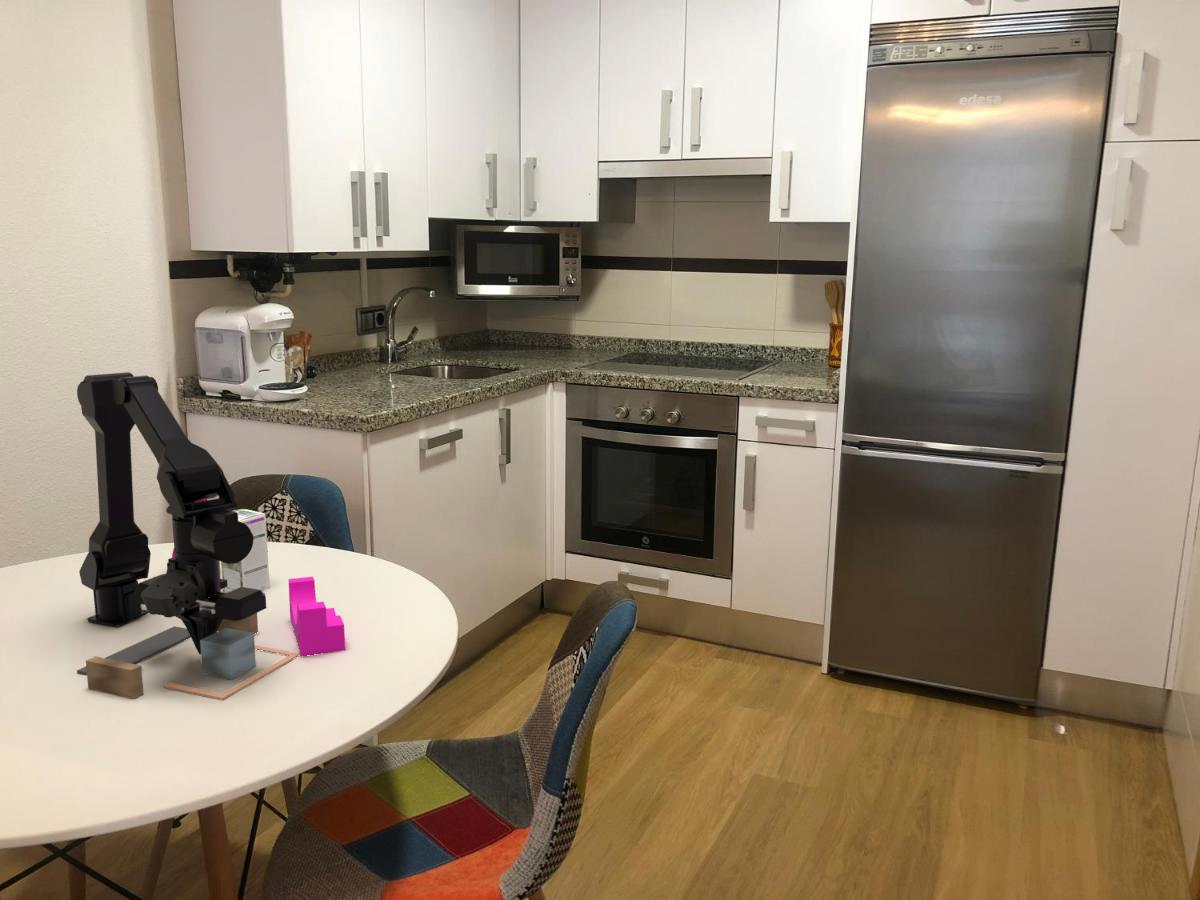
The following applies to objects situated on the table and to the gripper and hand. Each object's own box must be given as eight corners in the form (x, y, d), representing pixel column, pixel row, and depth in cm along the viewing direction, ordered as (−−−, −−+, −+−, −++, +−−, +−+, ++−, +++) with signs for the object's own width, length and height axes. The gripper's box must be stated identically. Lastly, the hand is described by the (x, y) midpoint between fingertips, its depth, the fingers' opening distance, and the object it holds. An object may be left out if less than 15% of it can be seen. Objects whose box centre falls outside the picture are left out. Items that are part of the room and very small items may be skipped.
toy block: (345, 653, 145) (343, 605, 144) (301, 659, 143) (299, 610, 141) (330, 618, 159) (328, 574, 157) (290, 623, 156) (288, 579, 155)
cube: (202, 674, 137) (200, 640, 136) (227, 660, 141) (225, 627, 140) (231, 679, 135) (228, 645, 134) (255, 666, 139) (253, 633, 138)
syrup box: (271, 593, 169) (267, 512, 167) (243, 602, 165) (238, 519, 162) (250, 586, 172) (245, 507, 170) (221, 596, 168) (216, 514, 165)
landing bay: (163, 687, 132) (163, 685, 132) (245, 645, 147) (245, 643, 147) (223, 700, 129) (222, 698, 129) (300, 655, 143) (300, 653, 143)
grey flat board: (77, 673, 136) (76, 670, 136) (174, 628, 153) (174, 626, 153) (104, 678, 134) (104, 676, 134) (199, 633, 151) (199, 631, 151)
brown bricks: (88, 688, 131) (85, 660, 131) (216, 627, 154) (215, 602, 153) (133, 698, 129) (131, 670, 128) (258, 634, 151) (256, 610, 150)
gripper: (98, 556, 132) (107, 664, 135) (207, 573, 126) (215, 687, 128) (161, 535, 142) (169, 636, 145) (266, 550, 136) (271, 656, 139)
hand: (203, 653), depth 139 cm, fingers closed
